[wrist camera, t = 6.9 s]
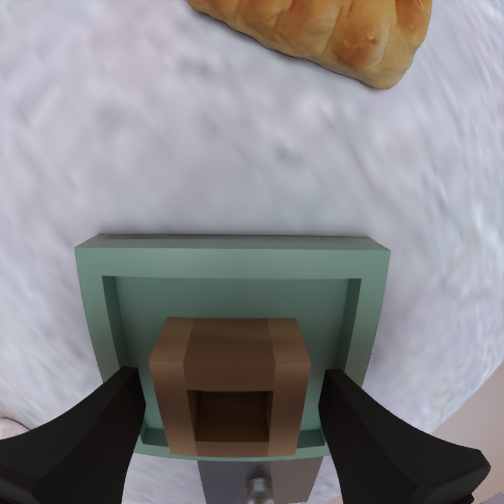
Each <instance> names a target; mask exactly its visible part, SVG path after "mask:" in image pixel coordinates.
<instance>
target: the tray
mask: <svg viewBox="0 0 504 504" xmlns="http://www.w3.org/2000/svg"><path fill="white" fill-rule="evenodd" d="M390 252H391V251H390V250H389V249H387V248H385V247H384V246H382V245H380V244H379V243H377V242H376V241H374V240H372V239H371V238H369V237H335V236H286V235H192V234H130V235H96V236H94V237H92V238H91V239H89V240H87V241H85V242H84V243H82V244H80V245H78V246H76V247H75V256H76V263H77V270H78V276H79V283H80V288H81V294H82V299H83V305H84V309H85V314H86V319H87V324H88V328H89V332H90V336H91V340H92V344H93V348H94V352H95V356H96V360H97V363H98V367H99V370H100V374H101V377H102V380H103V383H104V382H105V381H107V380H108V379H109V378H110V377H111V376H112V375H113V374H115V373H116V372H117V371H118V370H119V369H120V368H122V367H123V366H128V367H137V368H138V372H139V376H140V380H141V385H142V389H143V393H144V397H145V401H146V410H145V415H144V420H143V425H142V428H141V431H140V434H139V437H138V440H137V443H136V446H135V449H134V452H133V453H139V454H145V455H152V456H160V457H168V458H178V459H190V460H205V461H274V460H290V459H302V458H311V457H320V456H328V455H331V454H330V451H329V448H328V445H327V442H326V439H325V436H324V433H323V430H322V427H321V422H320V417H319V411H318V403H319V398H320V393H321V389H322V384H323V379H324V373H325V370H328V369H341V370H342V371H343V372H344V373H346V374H347V375H348V376H349V377H350V378H351V379H352V380H353V381H354V382H355V383H356V384H357V385H358V386H359V387H360V388H362V385H363V381H364V378H365V374H366V370H367V367H368V363H369V359H370V355H371V351H372V347H373V343H374V338H375V334H376V330H377V325H378V320H379V316H380V311H381V306H382V301H383V295H384V290H385V284H386V278H387V272H388V265H389V259H390ZM167 317H187V318H296V321H297V324H298V327H299V329H300V332H301V335H302V338H303V341H304V344H305V346H306V349H307V352H308V355H309V358H310V361H311V367H310V373H309V380H308V386H307V392H306V398H305V404H304V410H303V416H302V421H301V427H300V432H299V437H298V442H297V447H296V452H295V455H292V456H278V457H255V458H221V457H198V456H184V455H173V454H171V453H170V449H169V446H168V442H167V439H166V435H165V431H164V428H163V424H162V420H161V416H160V412H159V408H158V403H157V399H156V395H155V390H154V386H153V381H152V376H151V372H150V367H149V358H150V356H151V354H152V351H153V349H154V347H155V344H156V342H157V339H158V337H159V335H160V332H161V330H162V328H163V326H164V323H165V321H166V319H167ZM201 392H217V393H260V392H264V391H206V390H201Z"/></svg>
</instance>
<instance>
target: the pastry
mask: <svg viewBox="0 0 504 504" xmlns="http://www.w3.org/2000/svg"><path fill="white" fill-rule="evenodd" d="M187 1H188V2H189V4H190V5H191V7H193V8H194V9H195V10H198V11H201V12H204V13H207V14H209V15H210V16H212V17H213V18H215V19H219V20H222V21H224V22H225V23H227V24H228V25H229V26H230V27H232V28H233V29H234V30H236V31H240V32H243V33H245V34H247V35H250V36H252V37H253V38H254V39H256V40H257V41H259V42H260V43H261V44H262V45H263V46H264V47H266V48H269V49H274V50H279V51H280V52H282V53H285V54H287V55H290V56H293V57H297V58H305V59H307V60H309V61H312V62H314V63H317V64H319V65H320V66H322V67H324V68H326V69H329V70H332V71H335V72H337V73H340V74H343V75H346V76H348V77H350V78H354V79H358V80H361V81H363V82H364V83H366V84H368V85H370V86H373V87H375V88H378V89H390V88H391V87H393V86H395V85H396V84H397V83H398V82H399V81H400V79H401V78H402V77H403V76H404V74H405V73H406V71H407V70H408V69H409V68H410V66H411V64H412V62H413V57H414V54H415V52H416V51H417V49H418V48H419V47H420V45H421V44H422V42H423V40H424V38H425V37H426V35H427V33H426V32H427V30H428V25H429V21H430V16H431V8H432V0H187Z"/></svg>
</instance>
